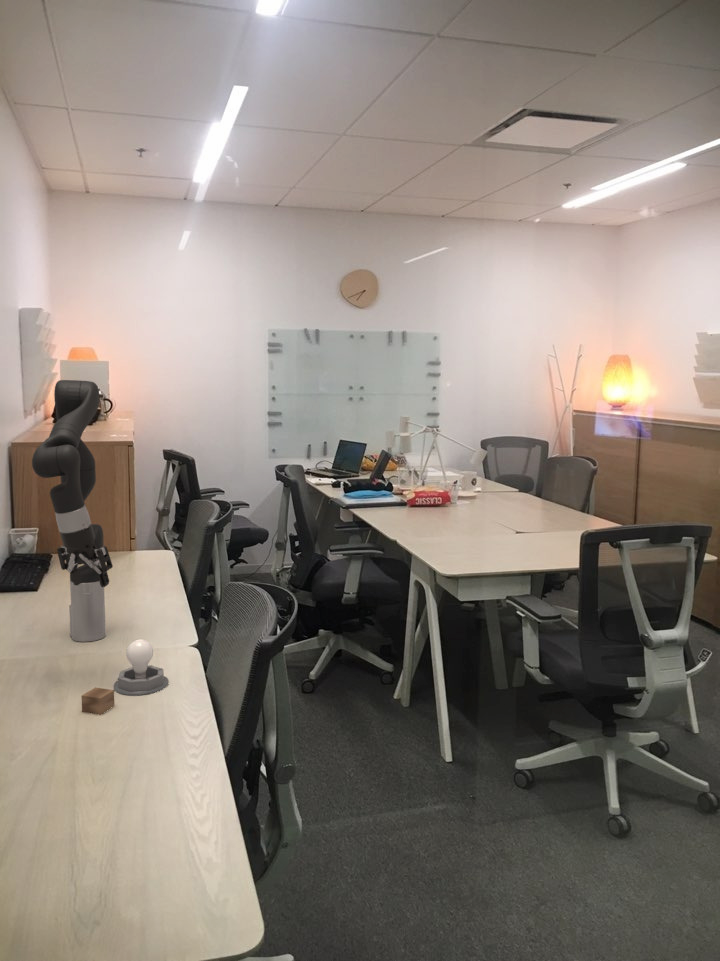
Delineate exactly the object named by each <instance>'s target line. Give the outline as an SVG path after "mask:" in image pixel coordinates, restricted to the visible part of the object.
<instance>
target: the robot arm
mask: <svg viewBox="0 0 720 961" xmlns="http://www.w3.org/2000/svg"><path fill="white" fill-rule="evenodd" d="M53 393H54V394H53V396H54V406H55V416H56V422H55V423H54V425H53V426H52V428H51V431H50V433H49V436H48V438H46V439H45V440H44V441H43V442H42V443H41V444H39V446H38V447H37V448H36V449H35V451H34V452H33V455H32V459H31V466H32V470H33V472H34V473H35V474H36V475H37V476H38V477H39V478H42V479H43V478H44V479H50V478H55V477H56V478H57V477H60V483H59V484H56V485H55V486H53V487H52V488H50V489H49V490H50V491H49V496H50V501H51V503H52V506H53V510H54V515H55V520H56V524H57V528H58V531H59V535H60V538H61V542H62V545H61V546H59V547H58V548H56V552H57V556H58V561H59V564H60V567H61V568H60V569H61V570H63V571H65V570H66V571H67V572H68V573H69V584H70V585H69V586H70V587H69V588H70V589H69V590H70V604H69V605H68V606H69V611H68V612H69V631H70V632H69V634H70V637H71V638H72V640H73V641H75V642H81V643H84V642H85V643H86V642H95V641H99V640H102V639H103V638H105V637H106V633H107V632H106V605H105V602H106V600H105V598H106V597H105V587H107V586H108V585H109V584H110V578H109V575H108V571H110V570H111V569H112V568H113V562H112V559H111V557H110V553H109V550H108V547H107V546H106V545H104V530H103V527H102V526H101V525H100V524H98V523H94V524H93V523H92V521H91V518H90V514H89V511H88V509H87V506H86V504H85V501H87V498H88V497H89V495H90V494H91V492H92V491H93V490H94V487H95V485H96V482H97V474H96V459H95V457H94V455H93V453H92V452H91V450H90V449H89V447H88V446H87V445H86V444H85V442H84V441H83V440H82V435H83V433H84V432H85V429H86V428H87V427H88V425H89V424H90V423H91V421H92V420H93V418H94V417H95V416H96V413H97V411H98V409H99V405H100V390H99V386H98V385H97V384H96V383H95V382H94V381H91V380H78V379H76V380H75V379H74V380H71V379H59V380H58V381H57V382H56V383H55V386H54V392H53ZM79 565H80V566H79Z"/></svg>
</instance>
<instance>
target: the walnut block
mask: <svg viewBox="0 0 720 961" xmlns="http://www.w3.org/2000/svg"><path fill="white" fill-rule="evenodd" d="M80 698H81V712H82V713H85V714H86V713H87V714H91V713H92V714H93V715H98V714H99V715H98V716H102V715H103V714H105V713H107V712H108V711H110V710H111V709H112V708H111V707H113V706H114V707H115V690H114V689H109V688H101V687H94V688H92V689H90V690H88V691H87V692H85V693H83V694H82V695H81V697H80ZM114 707H113V708H114ZM110 708H111V709H110ZM109 709H110V710H109ZM107 710H108V711H107ZM104 712H105V713H104ZM101 714H102V715H101Z"/></svg>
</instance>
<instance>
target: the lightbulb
mask: <svg viewBox="0 0 720 961" xmlns="http://www.w3.org/2000/svg"><path fill="white" fill-rule="evenodd" d="M125 654H126V655H125V656H126V659H127V660H128V662H129V663H130V665H131V667H133V670H134V672H135V680H139V679H146V670H147V666H149V664H150V662H151V660H152V658H153V656H154V647H153V645H152V644H151V642H149V641H148V640H146V639H144V638H142V639H141V638H139V639H135V640H132V641H131V642H130V643H129V644H128V646H127V648H126V651H125Z"/></svg>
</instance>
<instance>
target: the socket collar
mask: <svg viewBox="0 0 720 961" xmlns="http://www.w3.org/2000/svg"><path fill="white" fill-rule="evenodd" d="M164 675H165V674H164V668H162V667H158V666H155V665H152V664H151V665H149V664H148V666H147V670H146V679H139V680H135V672H134V670H133V666H131V667H128V668H126V669H124V670H121V671H119V673H118V677H117V680H116V681H115V682H114V684H113V690H114V692H116V693H118V694H120V695H122V696H133V697H135V696H138V697H140V696H147V695H152V694H155V692H156V693H158V692H157V691H159V692H161V691H163V690H164V689H163V688H165V687H166V686H167V685H168V686H169V684H168V683H170V681H169V678H168V677H167V676H164ZM168 686H167V687H168ZM167 687H166V688H167ZM166 688H165V689H166ZM162 689H163V690H162ZM160 690H161V691H160ZM151 693H152V694H151Z"/></svg>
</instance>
